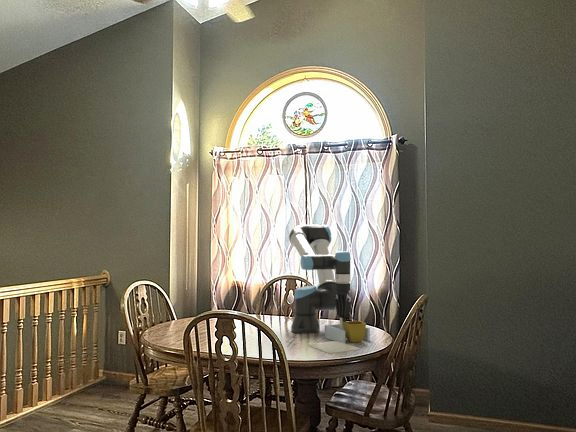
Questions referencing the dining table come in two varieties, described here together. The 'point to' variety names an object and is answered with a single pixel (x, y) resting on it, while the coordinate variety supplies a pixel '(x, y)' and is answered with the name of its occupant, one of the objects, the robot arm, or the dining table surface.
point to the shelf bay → (341, 333)
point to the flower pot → (354, 330)
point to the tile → (333, 347)
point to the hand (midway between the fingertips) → (343, 330)
